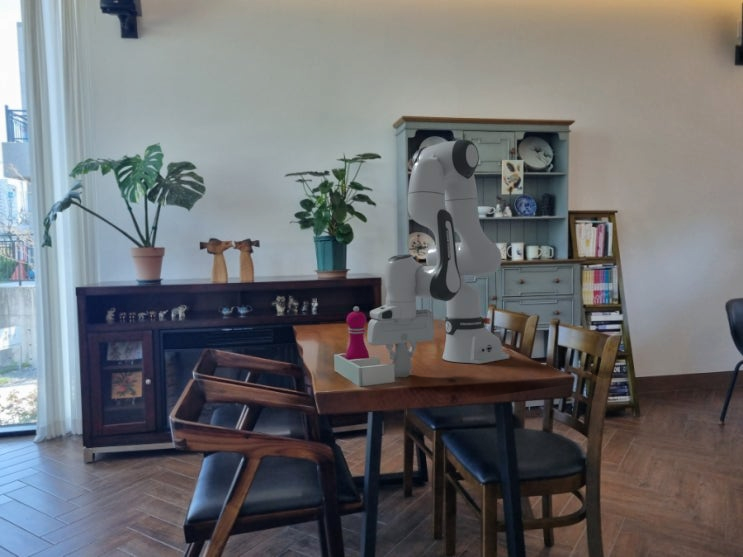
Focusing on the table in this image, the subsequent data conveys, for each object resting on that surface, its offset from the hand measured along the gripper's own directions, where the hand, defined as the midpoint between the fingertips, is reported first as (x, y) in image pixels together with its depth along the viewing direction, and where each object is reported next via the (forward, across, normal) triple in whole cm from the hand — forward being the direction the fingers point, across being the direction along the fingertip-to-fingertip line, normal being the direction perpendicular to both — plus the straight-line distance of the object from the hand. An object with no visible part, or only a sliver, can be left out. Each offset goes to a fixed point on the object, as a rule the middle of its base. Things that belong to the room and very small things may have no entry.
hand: (401, 358), depth 145 cm
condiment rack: (+5, +10, -5) cm, 12 cm away
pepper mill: (+5, +10, -10) cm, 15 cm away
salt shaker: (+5, 0, 0) cm, 5 cm away
